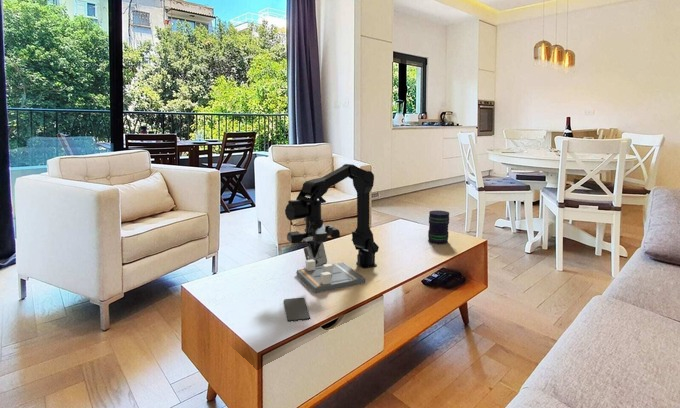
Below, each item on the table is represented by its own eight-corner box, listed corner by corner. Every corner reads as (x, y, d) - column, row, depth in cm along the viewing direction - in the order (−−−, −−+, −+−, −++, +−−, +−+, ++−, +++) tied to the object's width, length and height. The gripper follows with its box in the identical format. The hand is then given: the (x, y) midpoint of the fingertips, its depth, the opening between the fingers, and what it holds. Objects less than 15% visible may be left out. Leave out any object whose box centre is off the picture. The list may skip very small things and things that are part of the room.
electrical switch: (312, 269, 160) (310, 246, 159) (303, 267, 164) (301, 245, 162) (327, 262, 168) (326, 241, 166) (318, 261, 171) (317, 240, 170)
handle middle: (330, 272, 150) (329, 263, 150) (332, 274, 148) (332, 265, 148) (322, 273, 149) (322, 264, 148) (325, 275, 147) (325, 266, 146)
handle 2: (328, 280, 142) (328, 271, 141) (331, 283, 140) (331, 273, 139) (320, 282, 141) (320, 272, 140) (323, 284, 139) (323, 275, 138)
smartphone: (287, 320, 117) (283, 299, 131) (287, 323, 117) (283, 301, 131) (310, 318, 118) (304, 296, 132) (310, 321, 118) (304, 299, 133)
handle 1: (312, 267, 155) (312, 259, 155) (315, 269, 153) (315, 261, 152) (305, 268, 154) (305, 260, 153) (308, 270, 152) (307, 262, 151)
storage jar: (426, 243, 195) (427, 213, 192) (428, 238, 204) (430, 209, 201) (447, 245, 192) (449, 215, 189) (448, 239, 201) (450, 211, 198)
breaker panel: (342, 267, 162) (342, 262, 162) (365, 283, 145) (365, 277, 145) (296, 274, 154) (296, 269, 153) (315, 293, 137) (315, 287, 136)
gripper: (296, 223, 131) (297, 268, 134) (346, 217, 139) (346, 260, 142) (285, 216, 141) (287, 258, 144) (333, 211, 149) (333, 251, 152)
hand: (314, 257), depth 145 cm, fingers closed
